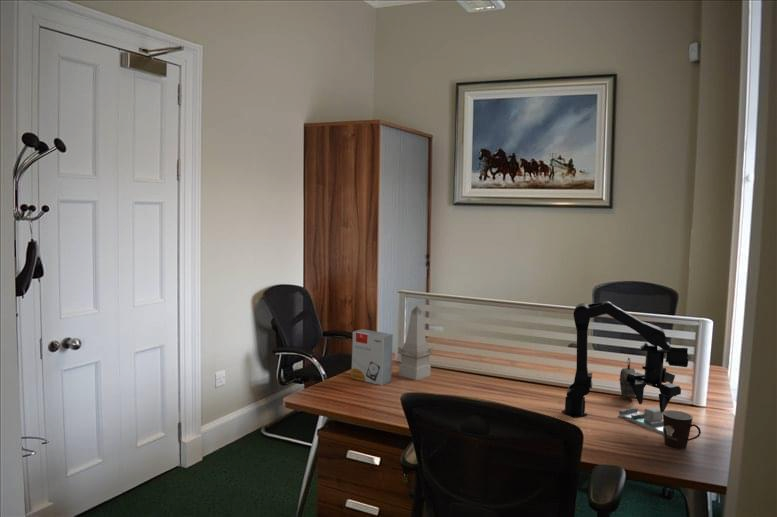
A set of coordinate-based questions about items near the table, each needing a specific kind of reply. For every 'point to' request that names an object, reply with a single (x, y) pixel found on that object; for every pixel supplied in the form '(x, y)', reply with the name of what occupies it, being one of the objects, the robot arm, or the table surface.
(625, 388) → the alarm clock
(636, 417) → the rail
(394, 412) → the table surface
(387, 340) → the hard drive box
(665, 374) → the robot arm
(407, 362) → the miniature monument
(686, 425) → the coffee mug
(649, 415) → the usb wall charger
